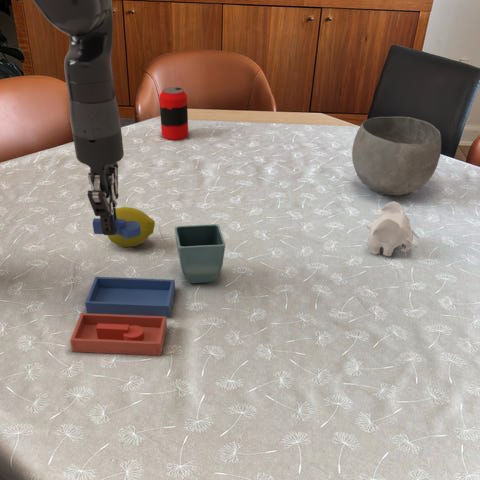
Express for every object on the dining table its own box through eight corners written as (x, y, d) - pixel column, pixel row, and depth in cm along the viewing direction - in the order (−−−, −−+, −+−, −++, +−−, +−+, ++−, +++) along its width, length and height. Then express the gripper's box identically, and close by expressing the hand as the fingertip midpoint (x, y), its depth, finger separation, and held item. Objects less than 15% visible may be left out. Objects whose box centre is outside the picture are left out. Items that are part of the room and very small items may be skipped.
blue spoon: (92, 236, 112) (90, 224, 110) (97, 227, 114) (95, 215, 113) (139, 238, 111) (137, 226, 110) (142, 228, 114) (141, 216, 113)
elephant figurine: (414, 265, 134) (423, 225, 128) (356, 256, 137) (362, 216, 131) (418, 244, 141) (427, 205, 135) (363, 236, 143) (370, 196, 137)
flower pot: (219, 264, 133) (218, 223, 127) (225, 287, 127) (225, 244, 121) (176, 267, 132) (173, 225, 126) (180, 290, 126) (178, 247, 119)
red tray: (72, 351, 111) (70, 340, 109) (82, 324, 117) (80, 312, 115) (161, 355, 110) (160, 343, 109) (167, 327, 116) (166, 316, 115)
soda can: (193, 136, 186) (192, 90, 177) (174, 142, 182) (171, 96, 173) (175, 129, 189) (173, 84, 181) (156, 135, 185) (153, 90, 177)
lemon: (99, 249, 137) (94, 213, 131) (114, 233, 142) (110, 197, 137) (147, 257, 135) (144, 221, 129) (160, 240, 140) (158, 204, 135)
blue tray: (86, 313, 119) (84, 302, 117) (97, 287, 126) (95, 276, 124) (169, 317, 119) (168, 306, 117) (175, 290, 125) (174, 279, 124)
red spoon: (96, 342, 112) (94, 331, 111) (100, 330, 115) (98, 319, 113) (142, 344, 112) (141, 333, 110) (145, 332, 115) (144, 321, 113)
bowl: (376, 214, 151) (387, 148, 141) (332, 180, 165) (339, 118, 154) (448, 200, 158) (463, 136, 147) (399, 168, 171) (411, 108, 161)
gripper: (82, 112, 106) (97, 213, 118) (61, 142, 96) (80, 250, 108) (127, 113, 106) (138, 214, 118) (112, 144, 96) (125, 251, 108)
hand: (110, 231), depth 113 cm, fingers closed on blue spoon, 1 cm apart
